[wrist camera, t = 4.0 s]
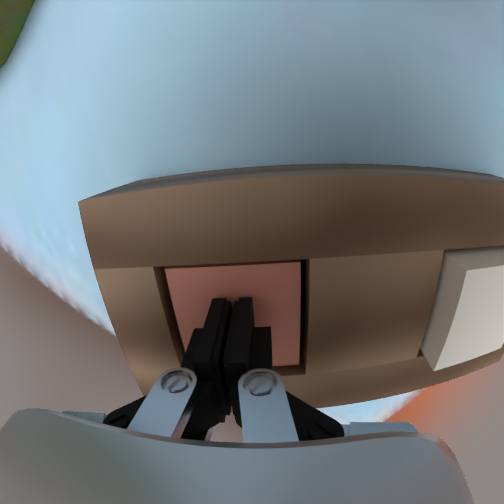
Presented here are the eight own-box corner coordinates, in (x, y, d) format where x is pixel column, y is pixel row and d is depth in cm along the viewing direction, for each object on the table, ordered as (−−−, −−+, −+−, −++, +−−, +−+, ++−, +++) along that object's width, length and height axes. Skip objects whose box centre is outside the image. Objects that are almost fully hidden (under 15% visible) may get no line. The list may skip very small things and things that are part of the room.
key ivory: (417, 234, 12) (466, 270, 8) (483, 231, 12) (531, 260, 8) (402, 321, 14) (433, 371, 10) (465, 308, 14) (501, 347, 10)
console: (136, 180, 15) (78, 201, 10) (490, 174, 14) (548, 192, 8) (172, 344, 19) (148, 404, 14) (463, 317, 18) (499, 360, 12)
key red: (191, 234, 15) (164, 269, 11) (290, 228, 15) (300, 262, 11) (205, 316, 17) (189, 366, 13) (292, 313, 17) (298, 364, 12)
